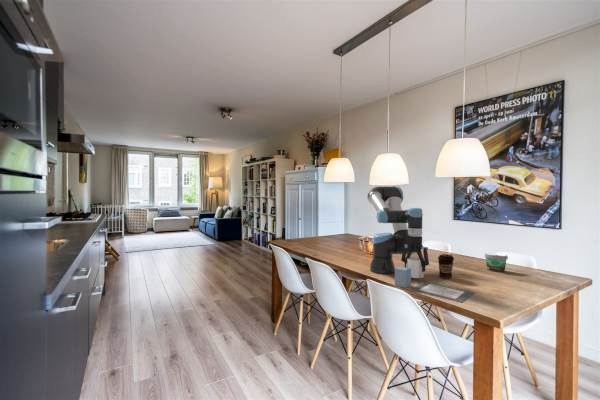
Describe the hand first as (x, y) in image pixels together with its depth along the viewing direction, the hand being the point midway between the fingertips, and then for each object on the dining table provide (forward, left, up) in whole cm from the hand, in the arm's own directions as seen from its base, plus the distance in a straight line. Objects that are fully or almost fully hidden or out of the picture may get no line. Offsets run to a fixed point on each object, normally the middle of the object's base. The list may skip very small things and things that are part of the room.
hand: (414, 275), depth 164 cm
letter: (+18, -9, -2) cm, 20 cm away
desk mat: (+18, -9, -2) cm, 20 cm away
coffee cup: (+11, +16, -2) cm, 20 cm away
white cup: (0, 0, -1) cm, 1 cm away
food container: (+28, +52, -2) cm, 59 cm away
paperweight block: (0, -14, -2) cm, 14 cm away
